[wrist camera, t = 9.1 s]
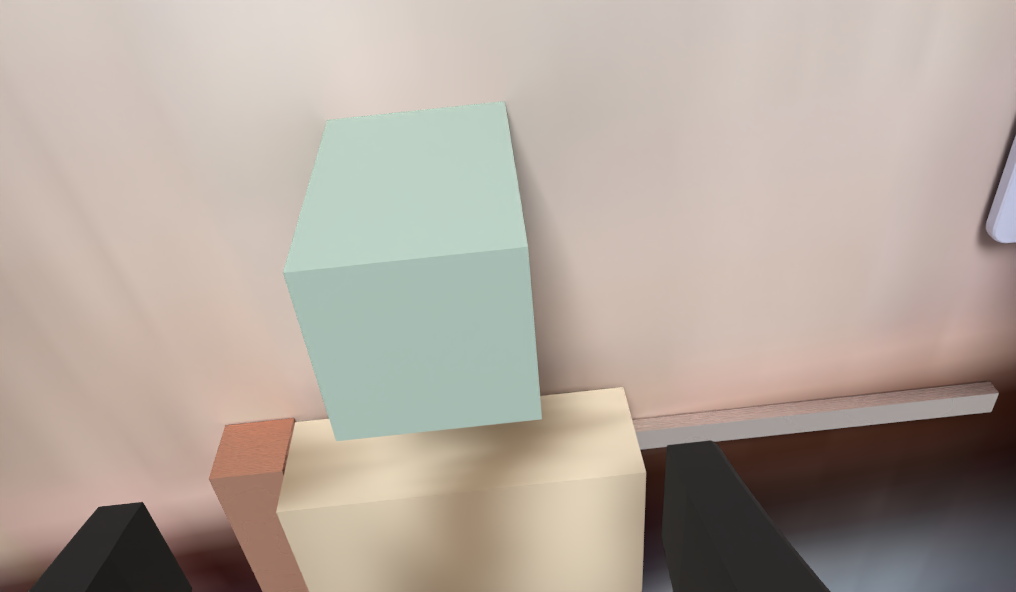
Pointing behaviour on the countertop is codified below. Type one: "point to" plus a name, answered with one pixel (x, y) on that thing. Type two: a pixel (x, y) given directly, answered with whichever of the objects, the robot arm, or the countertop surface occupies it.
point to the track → (265, 445)
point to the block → (416, 274)
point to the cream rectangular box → (473, 504)
